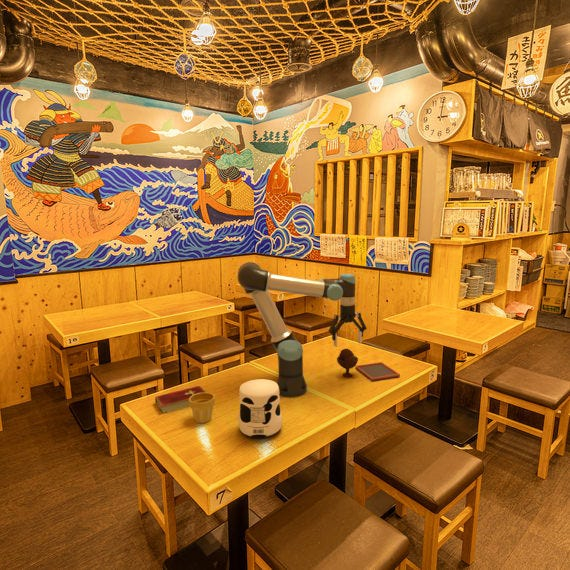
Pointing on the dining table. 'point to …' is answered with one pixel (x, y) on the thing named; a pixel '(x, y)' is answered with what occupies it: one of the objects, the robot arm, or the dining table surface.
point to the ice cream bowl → (347, 361)
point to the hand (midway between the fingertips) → (347, 344)
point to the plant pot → (202, 406)
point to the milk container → (259, 408)
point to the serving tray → (377, 371)
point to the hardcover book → (176, 399)
